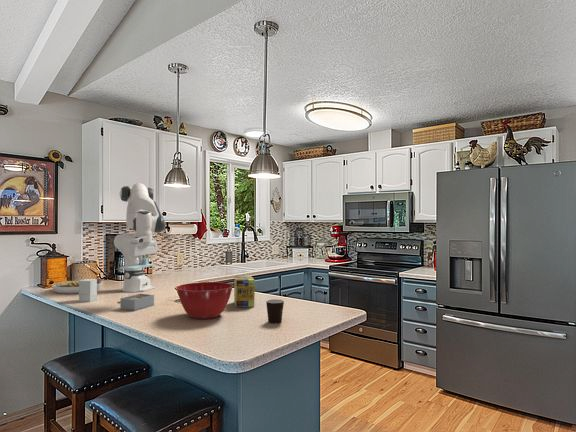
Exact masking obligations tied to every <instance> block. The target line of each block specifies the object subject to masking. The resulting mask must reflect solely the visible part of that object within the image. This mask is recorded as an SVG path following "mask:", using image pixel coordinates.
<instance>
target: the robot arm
mask: <svg viewBox="0 0 576 432" xmlns="http://www.w3.org/2000/svg"><path fill="white" fill-rule="evenodd" d="M154 191H155V190H154V189H153V188H151V187H147V186H146V185H145V184H143V183H141V182H138V183H134V184H133V185H132V186H130V185H129V186H128V185H126V186H125V185H124V186H122V187H121V189H120V190H119V198H120V200H121V201H122V202H127V207H126V219H125V222H126V226H127V227H128V228H129V229H131V230H134V233H120V234H117V235H116V236H115V237H114V239H113V245H114V247H115V248H116V249H117V250H119V252H120V253H121V254H122V255H123V260H124V266H127V265H132V264H138V263H143V260H142V258H143V256H145V257H144V258H150V256H151V255H153V254H157V253H158V242H157V239H156V238H155V237H153V233H158V234H159V233H162V232H164V230H165V229H166V222H165V219H164V217H163V216H162V214H161V211H160V209H159V206H158V205H157V202H156V201H155V200H154V199H155V192H154ZM123 270H124V271H123V275H124V278H123V284H122V285H123V286H122V289H121V290H122V292H124V293H125V292H126V293H127V292H128V293H134V292H136V293H137V292H146V291H149V290H152V289H155V288H156V287H155V286H154V285H152V279H150V278H149V277H148V276H146V274H145V273H147V269H143V268H140V269H135V270H132V269H123Z"/></svg>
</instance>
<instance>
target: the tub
mask: <svg viewBox="0 0 576 432" xmlns="http://www.w3.org/2000/svg"><path fill="white" fill-rule="evenodd" d="M138 296H145V297H143V298H139V299H130V298H136V297H138ZM119 305H120V307H119V309H120V310H122V311H131V312H136V311H140V310H143V309H147V308H150V307H153V306H155V295H154V294H148V293H147V294H146V293H137V294H132V295H128V296H125V297H121V298H120V303H119Z"/></svg>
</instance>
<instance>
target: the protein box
mask: <svg viewBox="0 0 576 432" xmlns="http://www.w3.org/2000/svg"><path fill="white" fill-rule="evenodd" d="M255 282H256V281H255V279H254V277H252V276H250V275H248V276H243V275H242V276H234V285H233V288H234V290H233V291H234V294H233V295H234V296H233V297H234V298H233V300H234V301H233V303H234V305H235V308H237V309H239V308H241V309H243V308H255V289H256V287H255Z"/></svg>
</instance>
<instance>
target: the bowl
mask: <svg viewBox="0 0 576 432" xmlns="http://www.w3.org/2000/svg"><path fill="white" fill-rule="evenodd" d="M95 279H97V291H98V290H99V289H100V288H101V287H102V285H103V281H101V279H100V278H95ZM79 281H80V280H67V281H62V282H56V283H53V284H52V285H51V288H52V290H53V292H55V293H57V294H62V295H65V294H67V295H73V294H75V295H76V294H79Z"/></svg>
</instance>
